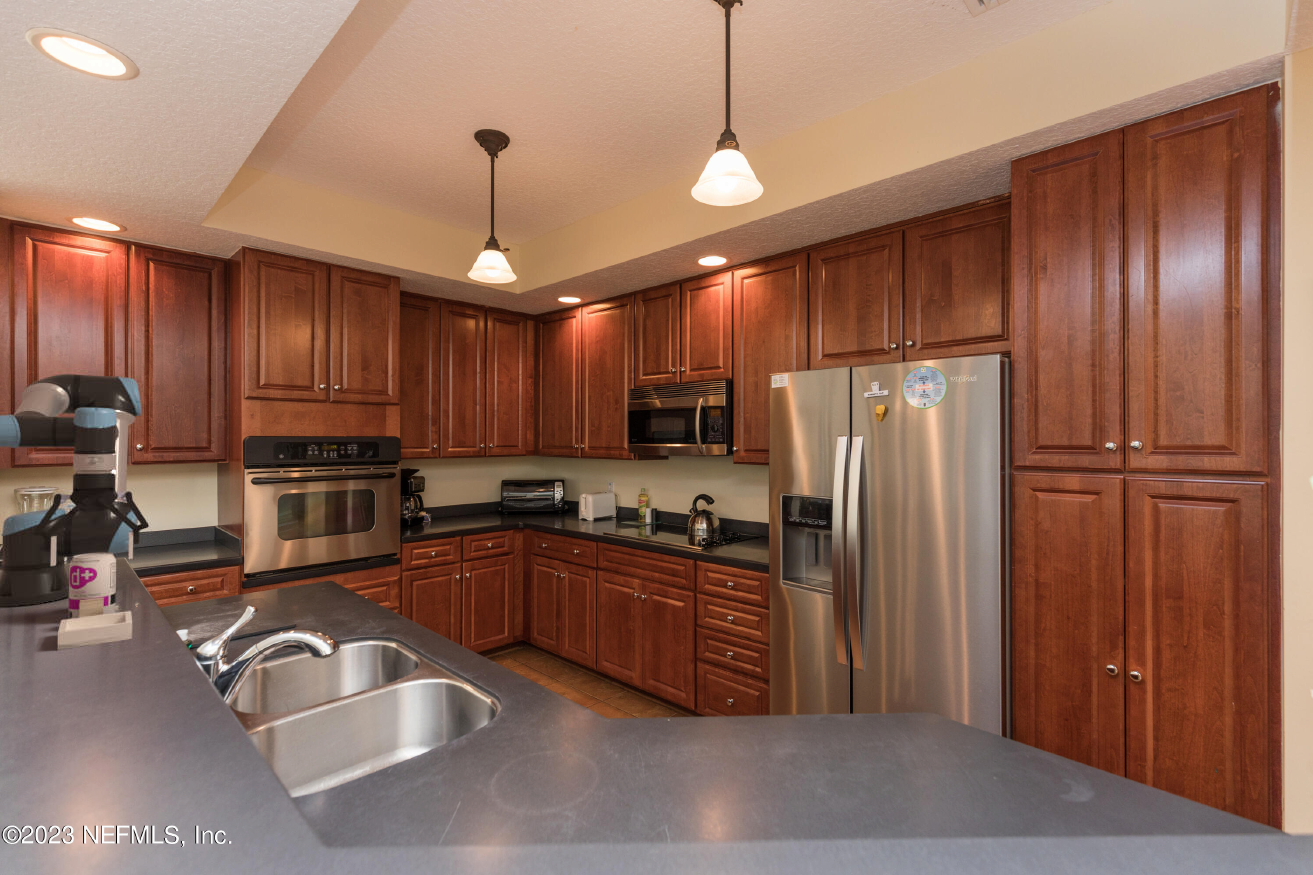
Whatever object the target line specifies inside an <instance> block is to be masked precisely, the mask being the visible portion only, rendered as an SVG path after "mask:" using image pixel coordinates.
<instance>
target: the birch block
mask: <svg viewBox="0 0 1313 875" xmlns="http://www.w3.org/2000/svg"><path fill="white" fill-rule="evenodd" d="M103 608H104V598H96V599H88V600H80V604H79V618H81V617H88V616H96V615H103Z"/></svg>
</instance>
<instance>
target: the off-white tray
mask: <svg viewBox="0 0 1313 875" xmlns="http://www.w3.org/2000/svg"><path fill="white" fill-rule="evenodd" d="M126 640H133V617H132V611H131V610H128V611H121V612H120V611H119V612H115V613H111V614H103V615H96V616H88V617H81V618H73V619H69V618H67V619H61V621H60V625H59V627H58V632H57V651H62V650H68V649H69V650H70V649H74V648H80V647H81V648H82V647H87V646H94V645H100V644H106V643H108V644H109V643H113V642H120V641H126Z"/></svg>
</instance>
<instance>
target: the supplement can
mask: <svg viewBox="0 0 1313 875" xmlns="http://www.w3.org/2000/svg"><path fill="white" fill-rule="evenodd" d="M68 576H69V597H68V619H73V618H79V604H80V600H88V599H96V598H104V608H103V614H111V613H116V602H117V601H116V599H117V598H116V596H117V595H116V593H117V589H116V588H117V559H116V557H115V556H114V553H105V552H104V553H89V554H81V555H77V556H72V560H71V561H70V563H69V573H68Z"/></svg>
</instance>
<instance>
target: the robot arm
mask: <svg viewBox="0 0 1313 875" xmlns="http://www.w3.org/2000/svg"><path fill="white" fill-rule="evenodd" d="M20 402H21V403H20V405H19V406H18V408H17V409H16V410H15V412H14V414H13V415H12V414H7V415H6V414H5V415H3V414H2V415H0V448H1V447H2V448H12V449H17V448H73V449H74V451H73V464H72V465H73V471H74V472H75V473H74V474H73V475H72V493H71V494H61V493H56V494H55V495H54V497H53V500H52V501H53V502H52V505H51V506H50V507H49V509H43V510H35V511H28V512H24V513H18V514H14V515H13V514H12V515H10V516H9V517H6V519H4V521H3V525H2V526H3V527H2V533H1V537H2V549H1V550H2V552H1V553H2V554H1V556H2V559H1V560H2V561H1V565H2V566H1V569H2V570H1V575H0V607H3V608H4V607H20V606H19V605H25V606H30V604H34V605H39V604H40V603H41V604H45V603H44V602H47V603H49V602H48V601H52V602H56V601H55V600H57V601H60V600H59V599H61V600H63V599H62V598H65V597H68V596H69V573H68V571H67V570H66V568H65V558H71V557H72V558H73V557H74V556H77V555H81V554H89V553H104V552H105V553H113V554H118V553H127V552H128V560H133V558H134V546H135V545H139V544H140V532H141V531H142V530H144V529H148V528H149V526H150V524H149V523H148V522H147V520H146V518H145V517H144V515H143V513H142V512H141V511H140V509H139V508H138V506H137V504H136V503H135V502H134V500H133V493H132V492H131V491H128V490H127V479H128V478H127V477H128V474H127V472H128V450H129V448H128V445H129V444H128V443H129V441H128V439H129V426H131V425H132V424H134V423H135V422H136V417H140V416H142V404H141V397H140V391H139V385H138V382H137V380H135V378H132V377H122V376H116V375H115V376H106V375H90V374H88V375H87V374H75V373H67V374H66V373H64V374H63V373H62V374H56V375H51V376H48V377H43V378H40V379H39V380H36V381H34V382H32V383H30V384H29V385H27V387H26V388H24V389H23V392H22V393H21V396H20ZM60 414H65V415H66V414H67V415H74V416H59V415H60ZM68 500H70V501H71V502H72V504H74V505H75V506H73V507H72V508H70V510H69V511H66V509H65V508H61V507H60V505H61V504H65V503H66V501H68ZM138 523H139V524H138ZM68 598H69V597H68ZM65 599H66V598H65Z"/></svg>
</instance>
